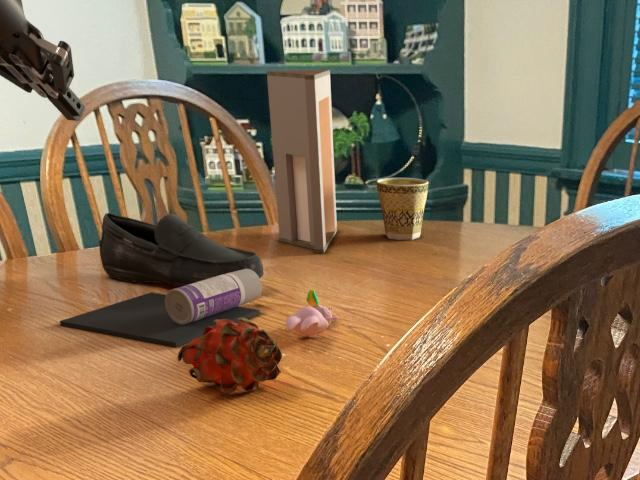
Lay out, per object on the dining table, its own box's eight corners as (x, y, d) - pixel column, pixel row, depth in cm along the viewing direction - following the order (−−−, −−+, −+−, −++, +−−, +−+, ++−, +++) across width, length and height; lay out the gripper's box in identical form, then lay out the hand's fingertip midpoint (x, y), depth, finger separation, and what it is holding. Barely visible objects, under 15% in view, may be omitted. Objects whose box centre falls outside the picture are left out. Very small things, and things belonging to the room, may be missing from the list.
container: (171, 326, 123) (242, 302, 134) (196, 323, 121) (266, 299, 132) (160, 291, 121) (233, 269, 132) (185, 287, 119) (257, 265, 130)
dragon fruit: (292, 407, 103) (193, 416, 105) (298, 345, 106) (201, 355, 108) (265, 362, 95) (159, 372, 97) (272, 296, 98) (169, 308, 100)
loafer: (246, 301, 135) (239, 228, 130) (83, 282, 143) (70, 213, 137) (279, 285, 144) (273, 216, 138) (123, 268, 151) (112, 203, 146)
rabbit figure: (301, 329, 128) (272, 342, 114) (300, 284, 126) (270, 293, 112) (345, 331, 128) (321, 345, 114) (344, 286, 125) (320, 295, 112)
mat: (60, 325, 123) (59, 320, 123) (151, 296, 137) (151, 292, 136) (176, 347, 116) (175, 342, 115) (260, 314, 130) (259, 309, 129)
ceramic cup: (408, 244, 172) (408, 186, 167) (367, 237, 177) (365, 181, 171) (446, 233, 182) (447, 179, 176) (405, 227, 186) (405, 174, 181)
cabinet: (323, 253, 164) (314, 75, 149) (270, 252, 164) (255, 73, 149) (337, 231, 182) (329, 69, 167) (289, 230, 182) (277, 68, 167)
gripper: (23, -49, 88) (133, 90, 104) (-71, -48, 93) (48, 84, 109) (-9, 15, 87) (108, 145, 103) (-102, 13, 91) (23, 138, 107)
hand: (77, 114), depth 106 cm, fingers closed
